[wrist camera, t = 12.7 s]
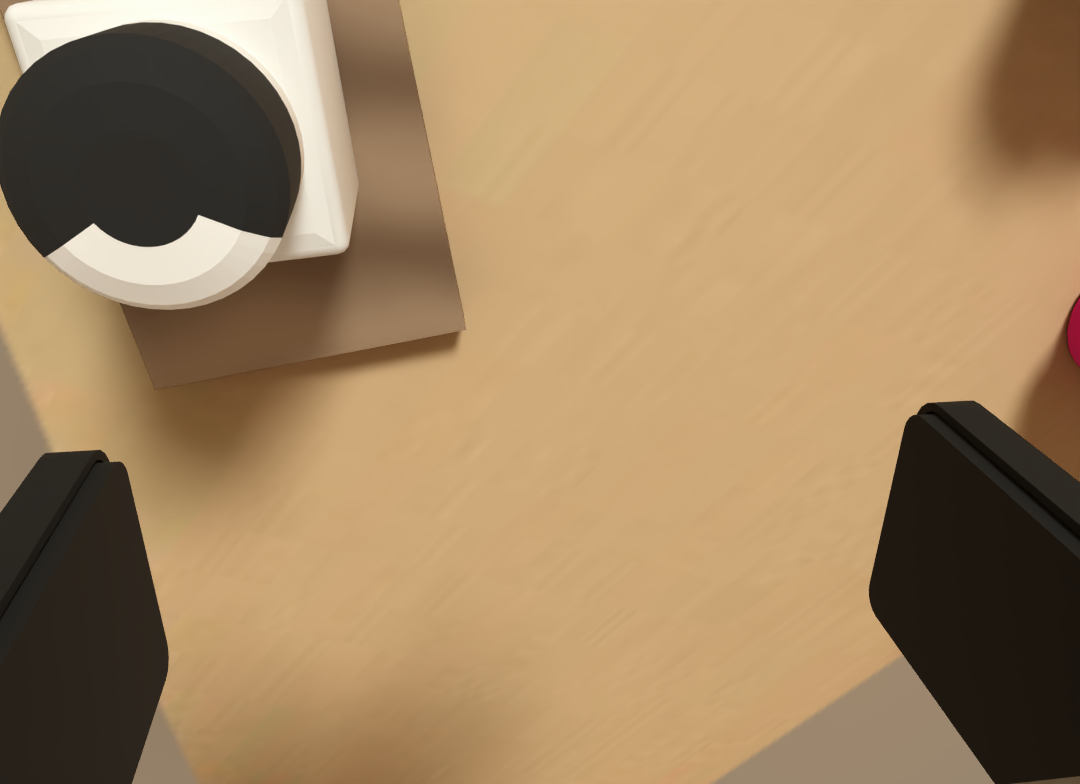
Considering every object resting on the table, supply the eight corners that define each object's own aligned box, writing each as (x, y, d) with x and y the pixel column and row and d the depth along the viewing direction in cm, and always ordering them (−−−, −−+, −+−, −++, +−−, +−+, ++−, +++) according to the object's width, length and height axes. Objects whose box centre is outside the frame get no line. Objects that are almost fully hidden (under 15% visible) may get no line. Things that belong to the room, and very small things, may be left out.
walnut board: (463, 315, 35) (465, 329, 34) (164, 372, 35) (155, 389, 33) (336, -304, 26) (333, -316, 25) (-79, -240, 25) (-106, -250, 24)
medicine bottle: (87, -11, 27) (-111, 24, 17) (321, -33, 28) (273, -11, 17) (153, 214, 30) (23, 363, 20) (361, 191, 31) (340, 323, 21)
